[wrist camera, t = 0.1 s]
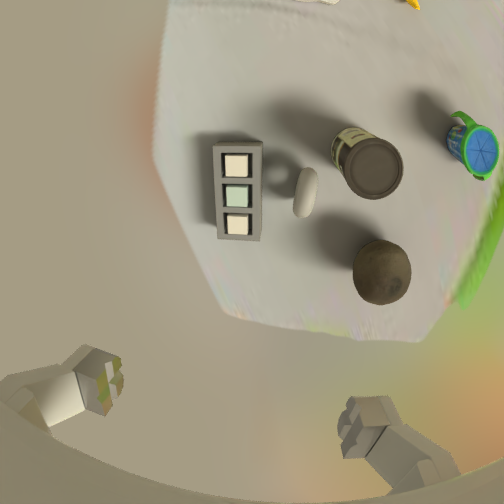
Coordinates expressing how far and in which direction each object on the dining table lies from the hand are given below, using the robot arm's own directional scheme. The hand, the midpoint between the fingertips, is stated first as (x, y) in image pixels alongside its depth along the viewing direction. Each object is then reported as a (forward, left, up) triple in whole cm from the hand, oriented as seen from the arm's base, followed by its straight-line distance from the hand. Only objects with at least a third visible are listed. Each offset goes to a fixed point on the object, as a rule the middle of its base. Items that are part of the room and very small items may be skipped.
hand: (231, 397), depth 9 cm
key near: (+9, -2, -48) cm, 49 cm away
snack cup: (-34, +24, -52) cm, 67 cm away
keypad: (+13, +3, -52) cm, 54 cm away
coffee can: (-11, +12, -52) cm, 55 cm away
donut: (+2, +11, -52) cm, 53 cm away
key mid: (+13, +3, -48) cm, 50 cm away
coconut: (-1, +35, -52) cm, 63 cm away
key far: (+17, +8, -48) cm, 52 cm away
